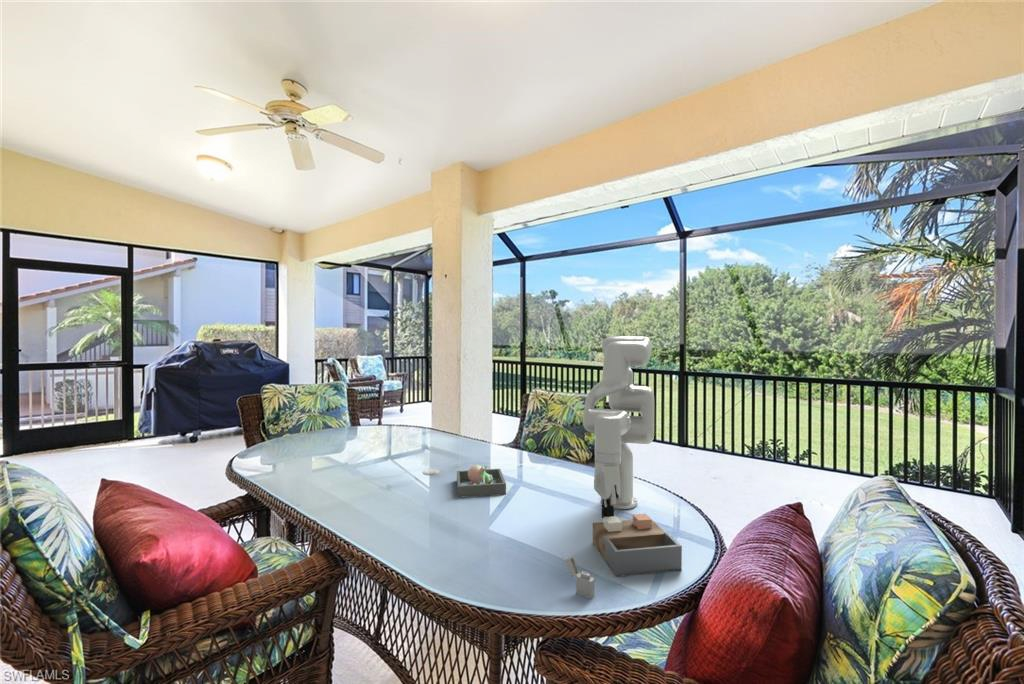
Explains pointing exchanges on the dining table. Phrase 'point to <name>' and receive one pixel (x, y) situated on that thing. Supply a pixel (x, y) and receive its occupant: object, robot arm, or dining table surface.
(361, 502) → the dining table surface
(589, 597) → the lighter
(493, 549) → the dining table surface
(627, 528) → the bench plate
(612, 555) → the box
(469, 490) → the dark shallow tray
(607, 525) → the cream block
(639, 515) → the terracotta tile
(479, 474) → the orange and green lump
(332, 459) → the dining table surface
